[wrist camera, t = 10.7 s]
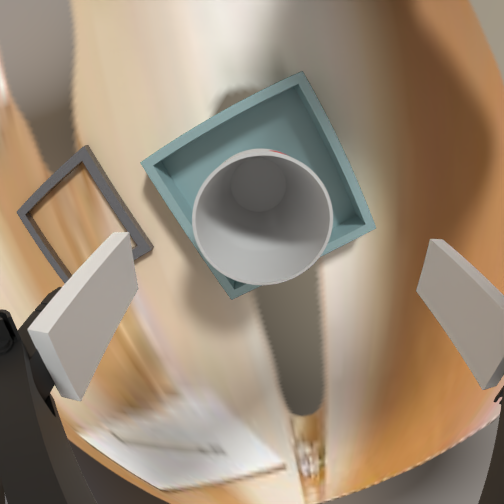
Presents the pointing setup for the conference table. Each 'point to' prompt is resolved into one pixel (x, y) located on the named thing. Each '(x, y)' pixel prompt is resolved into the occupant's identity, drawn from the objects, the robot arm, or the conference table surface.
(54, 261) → the grey flat square frame
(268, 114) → the bin
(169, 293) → the conference table surface
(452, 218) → the conference table surface
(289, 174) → the cup
